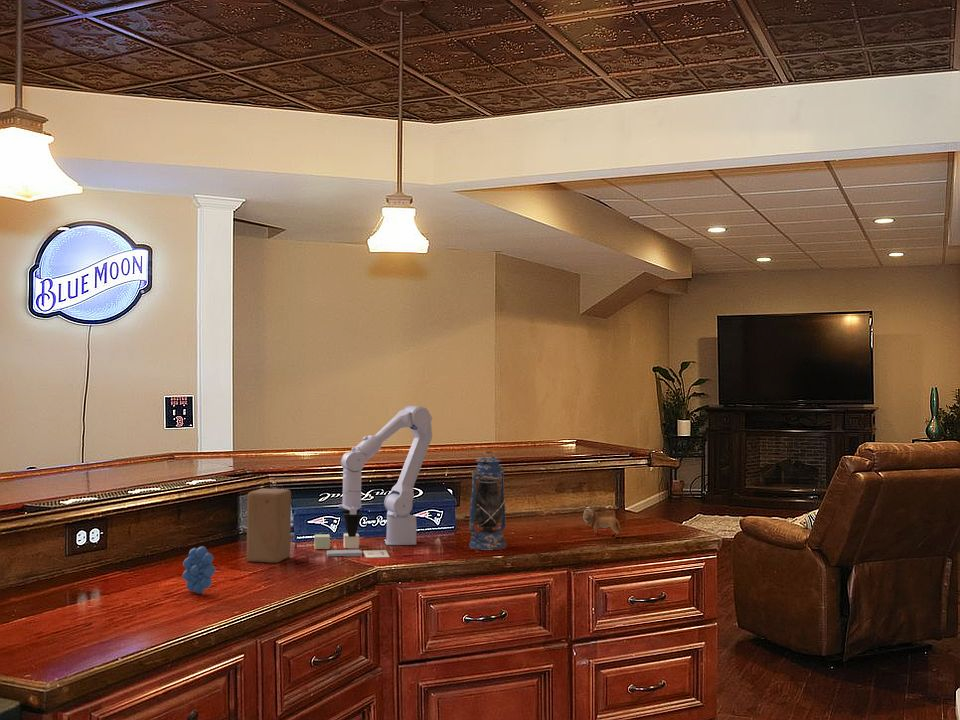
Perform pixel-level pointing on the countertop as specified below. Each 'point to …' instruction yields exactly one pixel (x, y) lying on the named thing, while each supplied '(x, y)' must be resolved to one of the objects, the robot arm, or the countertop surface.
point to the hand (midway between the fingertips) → (351, 534)
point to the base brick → (344, 553)
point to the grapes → (198, 570)
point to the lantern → (487, 505)
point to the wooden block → (268, 525)
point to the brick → (351, 541)
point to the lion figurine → (600, 521)
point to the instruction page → (376, 554)
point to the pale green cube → (322, 541)
